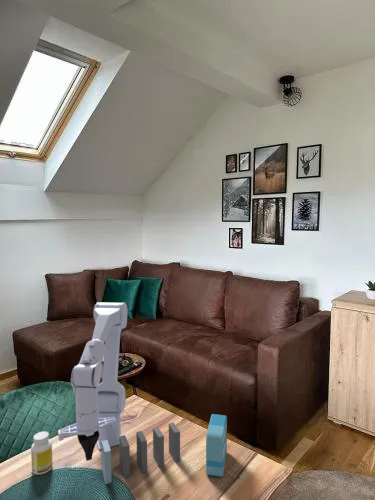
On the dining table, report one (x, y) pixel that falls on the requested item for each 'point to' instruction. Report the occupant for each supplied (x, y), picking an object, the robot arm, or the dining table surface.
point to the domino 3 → (158, 446)
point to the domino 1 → (124, 456)
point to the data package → (216, 445)
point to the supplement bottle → (41, 453)
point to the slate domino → (106, 461)
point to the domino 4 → (174, 442)
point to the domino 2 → (141, 451)
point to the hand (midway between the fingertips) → (88, 457)
